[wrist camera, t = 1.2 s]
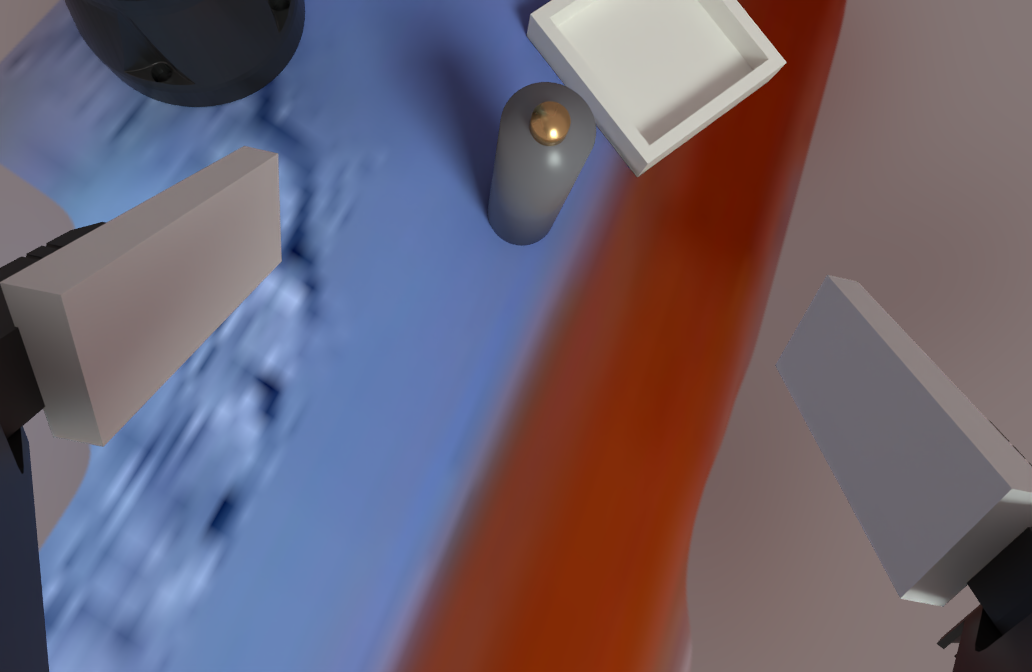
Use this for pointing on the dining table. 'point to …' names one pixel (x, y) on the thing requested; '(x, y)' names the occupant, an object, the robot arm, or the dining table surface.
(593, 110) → the tray
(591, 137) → the charcoal cell
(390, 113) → the dining table surface
